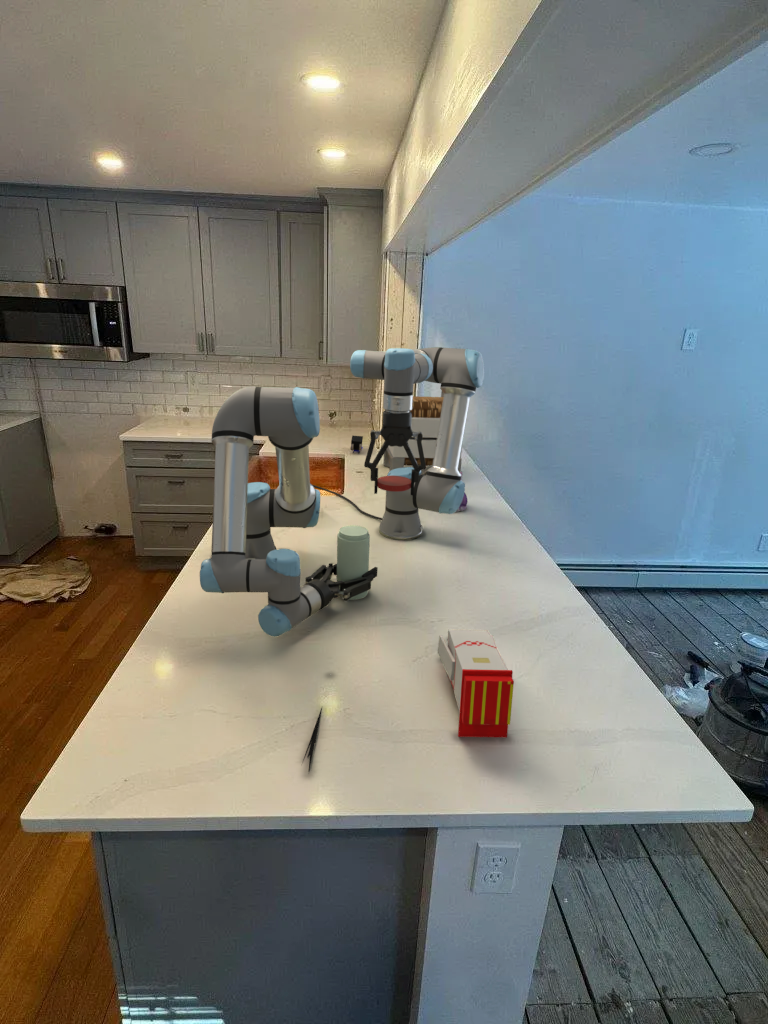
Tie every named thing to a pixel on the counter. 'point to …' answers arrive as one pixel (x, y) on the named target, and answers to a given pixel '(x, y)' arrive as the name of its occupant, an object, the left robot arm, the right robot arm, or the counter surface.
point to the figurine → (464, 500)
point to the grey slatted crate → (423, 421)
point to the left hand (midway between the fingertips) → (362, 567)
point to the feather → (313, 740)
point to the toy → (478, 682)
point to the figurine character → (356, 443)
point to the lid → (394, 483)
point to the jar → (352, 554)
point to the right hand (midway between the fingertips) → (393, 492)
